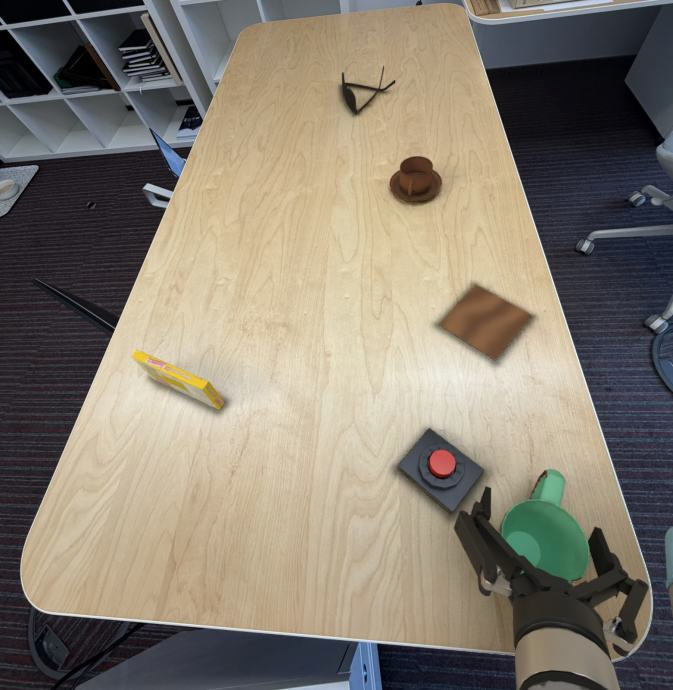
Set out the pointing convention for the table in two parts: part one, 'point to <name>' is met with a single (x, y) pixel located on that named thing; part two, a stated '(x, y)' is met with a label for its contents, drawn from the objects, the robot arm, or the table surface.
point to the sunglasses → (350, 95)
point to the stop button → (442, 463)
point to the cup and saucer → (415, 180)
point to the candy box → (179, 379)
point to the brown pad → (485, 321)
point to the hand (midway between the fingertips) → (537, 514)
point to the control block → (438, 488)
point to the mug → (547, 530)
